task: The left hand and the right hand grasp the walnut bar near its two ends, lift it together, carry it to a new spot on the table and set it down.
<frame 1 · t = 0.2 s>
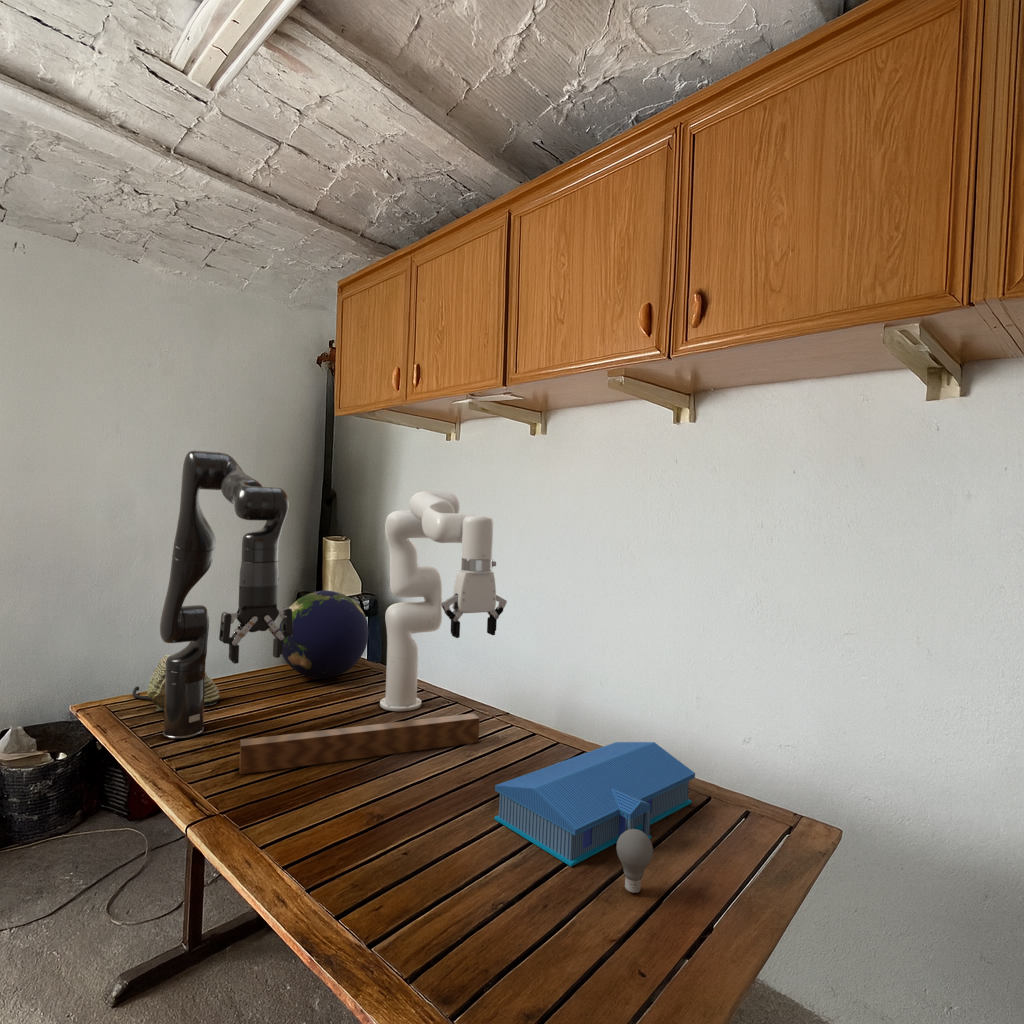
left hand: (255, 659, 132), 29 cm above the table, tool pointing down, fingers open, 8 cm apart
right hand: (473, 635, 155), 31 cm above the table, tool pointing down, fingers open, 9 cm apart
fossil: (183, 706, 185), on the table
model building: (602, 814, 132), on the table
globe: (322, 677, 219), on the table
bar: (367, 754, 157), on the table
light bulb: (632, 891, 106), on the table
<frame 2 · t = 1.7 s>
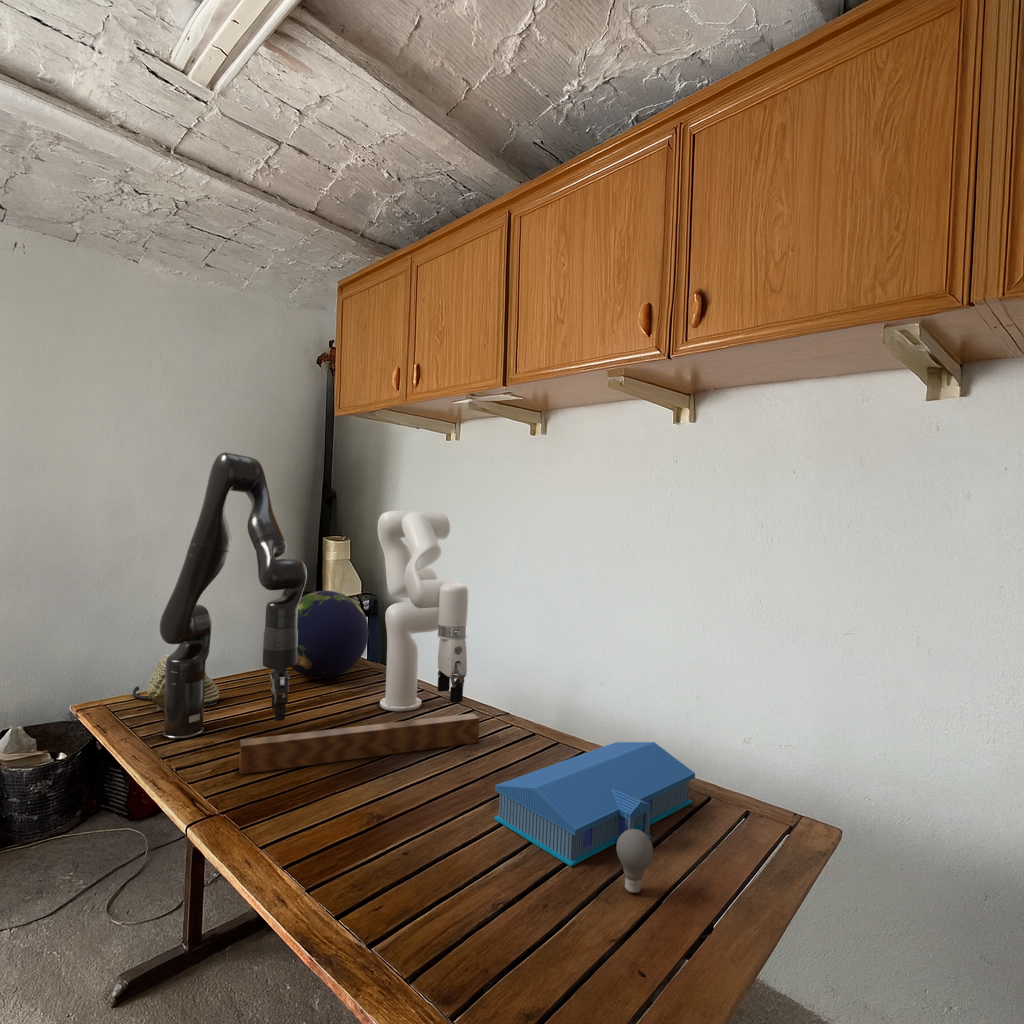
left hand: (278, 714, 147), 12 cm above the table, tool pointing down, fingers open, 8 cm apart
right hand: (449, 696, 166), 12 cm above the table, tool pointing down, fingers open, 9 cm apart
nothing on the table moved.
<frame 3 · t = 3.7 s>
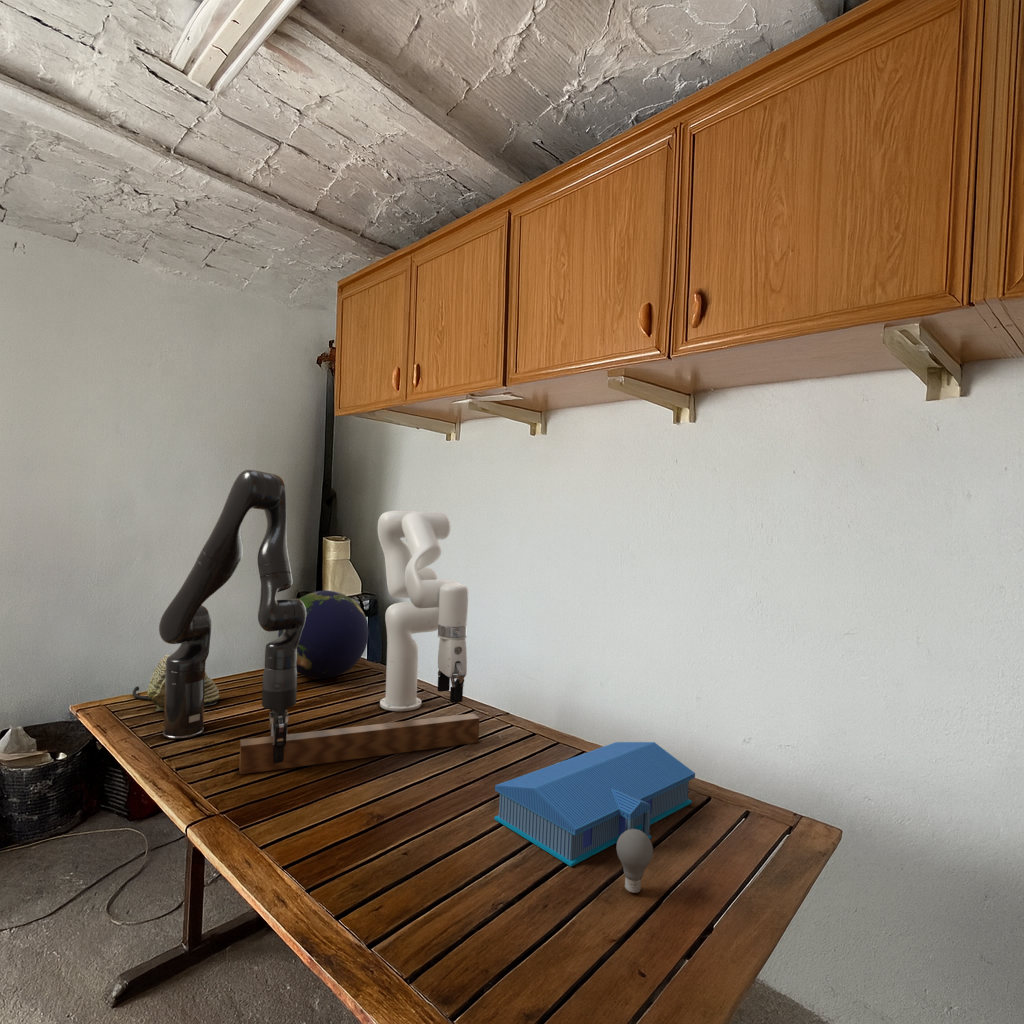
left hand: (277, 757, 148), 2 cm above the table, tool pointing down, fingers closed on bar, 4 cm apart
right hand: (449, 696, 166), 12 cm above the table, tool pointing down, fingers open, 9 cm apart
bar: (367, 754, 157), on the table, touching left hand
everything else where it was.
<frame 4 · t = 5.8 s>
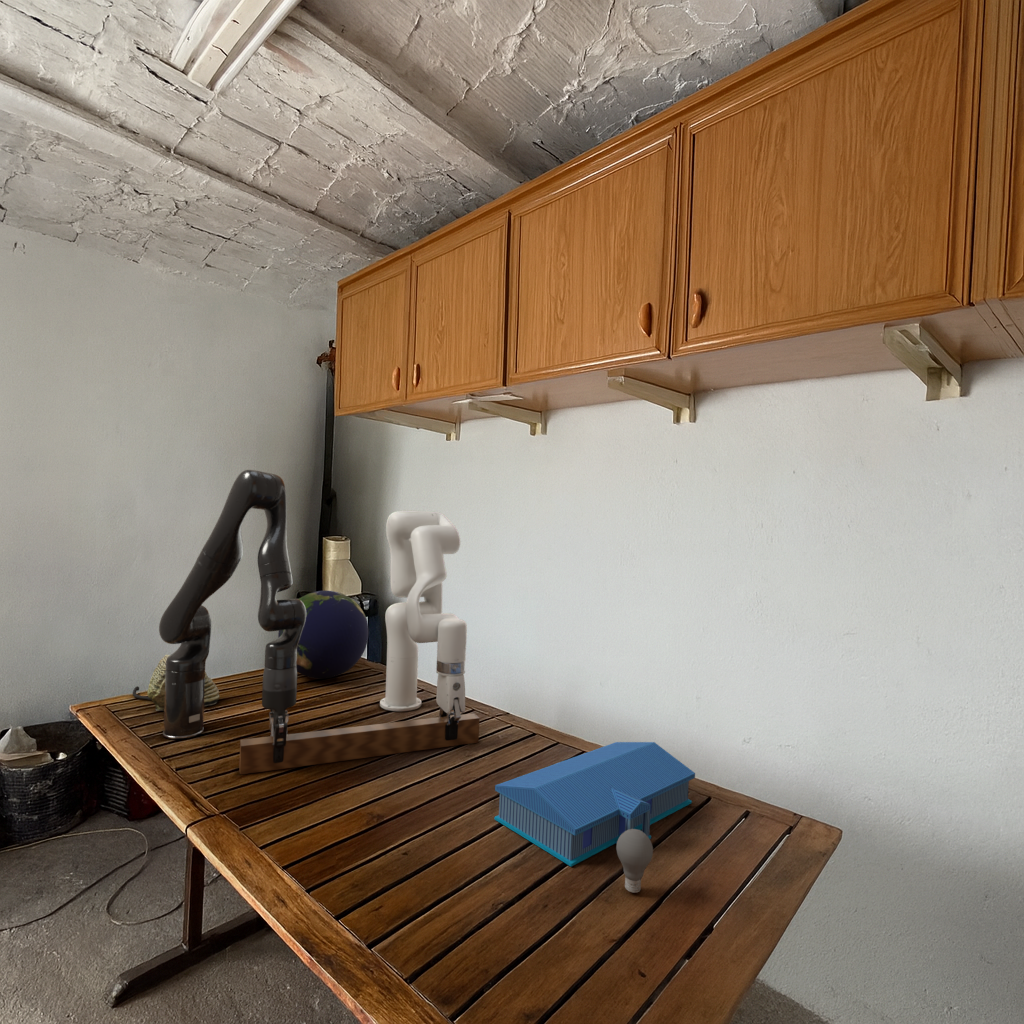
left hand: (277, 757, 148), 2 cm above the table, tool pointing down, fingers closed on bar, 4 cm apart
right hand: (448, 735, 166), 2 cm above the table, tool pointing down, fingers closed on bar, 4 cm apart
bar: (367, 754, 157), on the table, touching left hand, right hand
everything else where it was.
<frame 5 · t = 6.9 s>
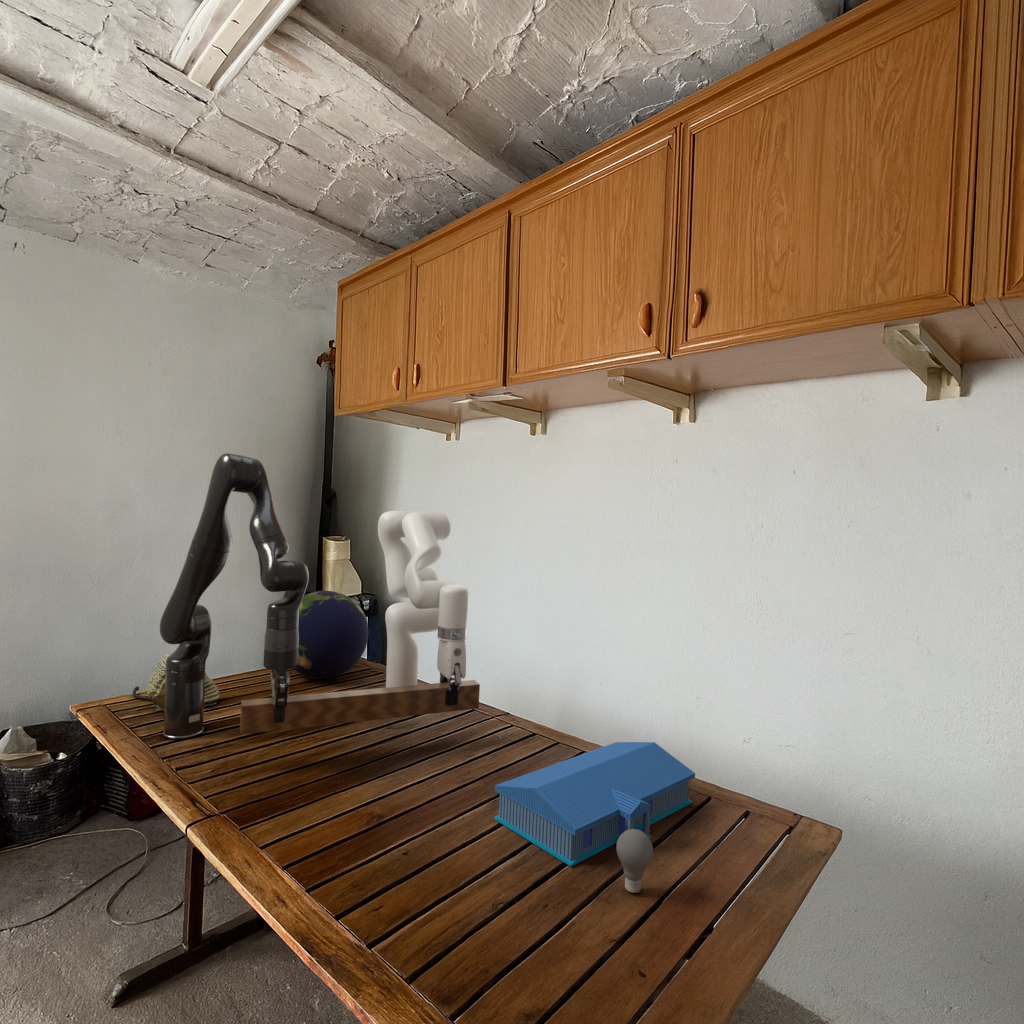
left hand: (278, 718, 148), 11 cm above the table, tool pointing down, fingers closed on bar, 4 cm apart
right hand: (448, 700, 166), 11 cm above the table, tool pointing down, fingers closed on bar, 4 cm apart
bar: (367, 717, 157), point 9 cm above the table, touching left hand, right hand
everything else where it was.
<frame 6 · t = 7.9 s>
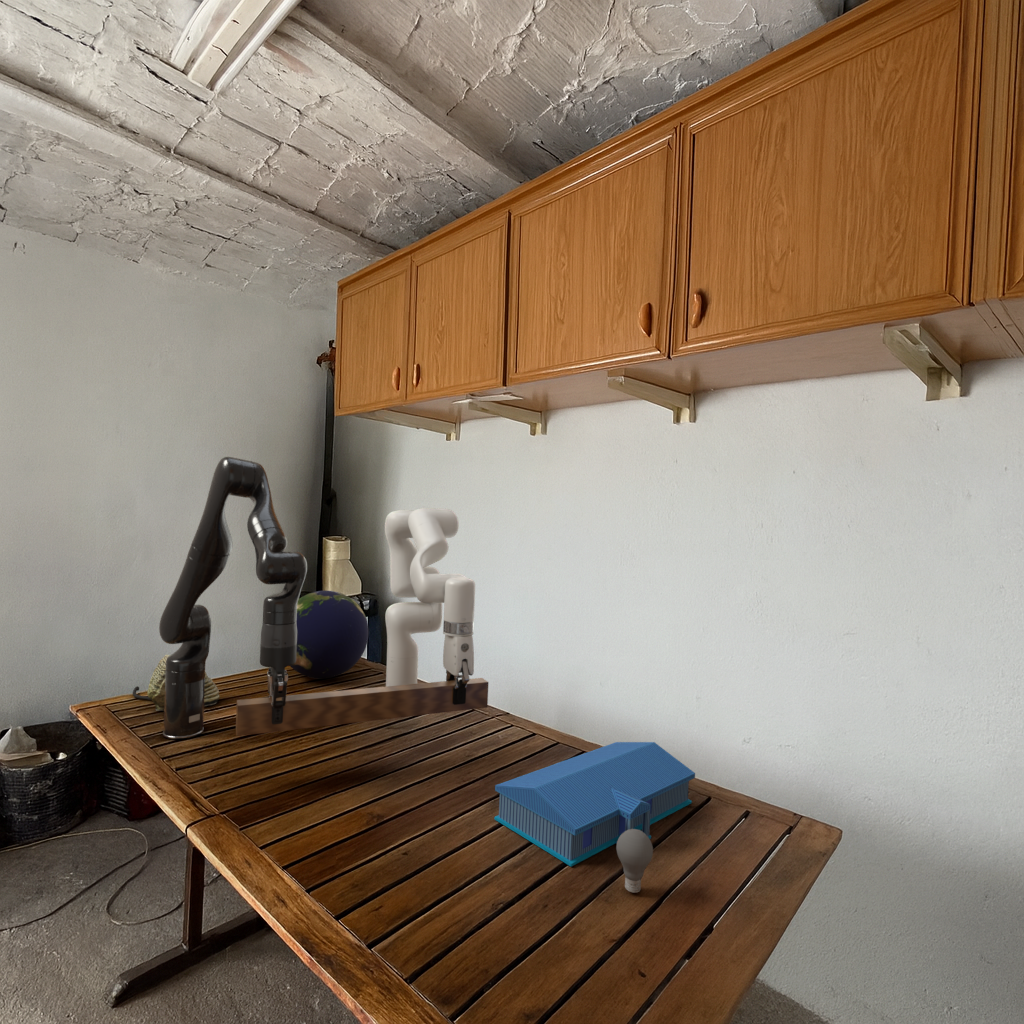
left hand: (275, 719, 139), 14 cm above the table, tool pointing down, fingers closed on bar, 4 cm apart
right hand: (455, 700, 158), 14 cm above the table, tool pointing down, fingers closed on bar, 4 cm apart
bar: (370, 717, 149), point 12 cm above the table, touching left hand, right hand
everything else where it was.
when the right hand's fingers open (4 cm above the table, at t = 10.1 s): bar drops 1 cm, on the table.
when the left hand's fingers open (3 cm above the table, at t = 10.2 s): bar drops 1 cm, on the table.
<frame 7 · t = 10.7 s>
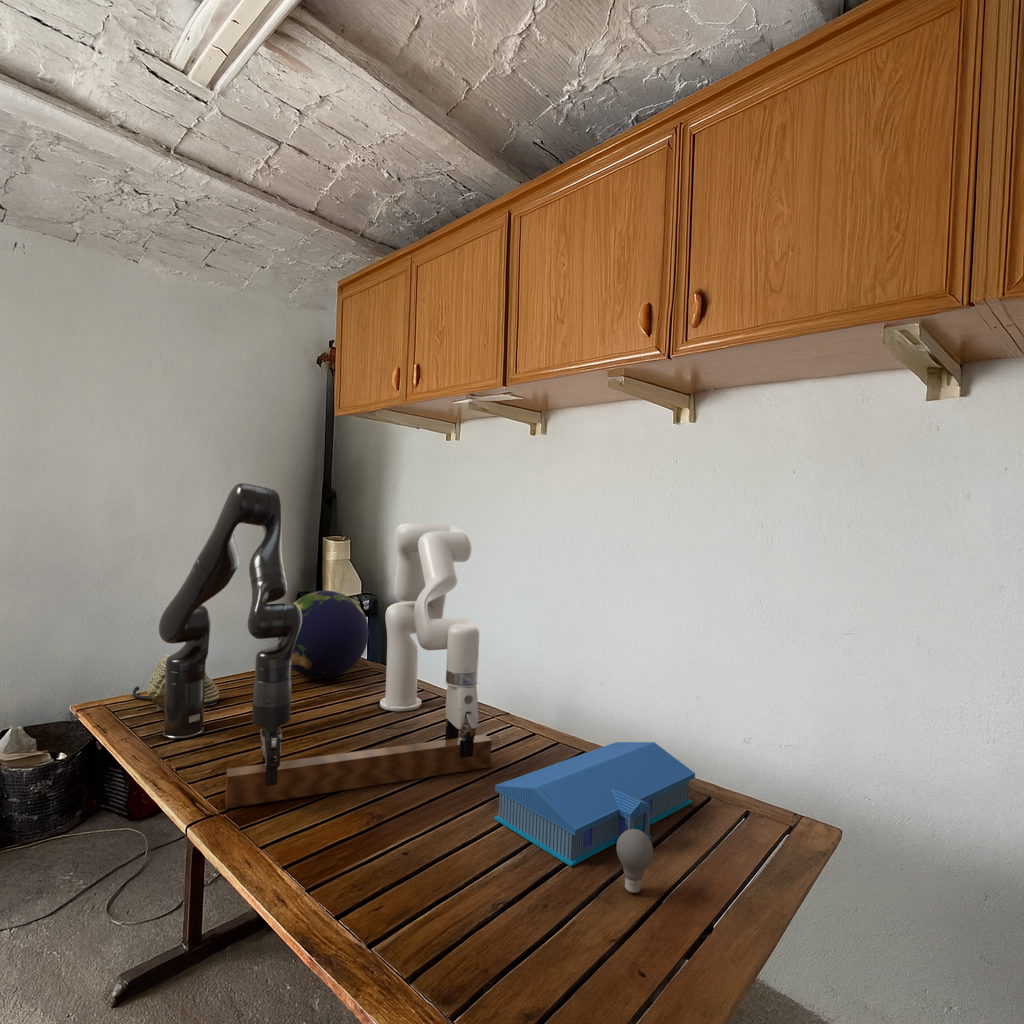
left hand: (269, 776, 132), 5 cm above the table, tool pointing down, fingers open, 8 cm apart
right hand: (458, 748, 150), 5 cm above the table, tool pointing down, fingers open, 9 cm apart
bar: (368, 782, 141), on the table
everything else where it was.
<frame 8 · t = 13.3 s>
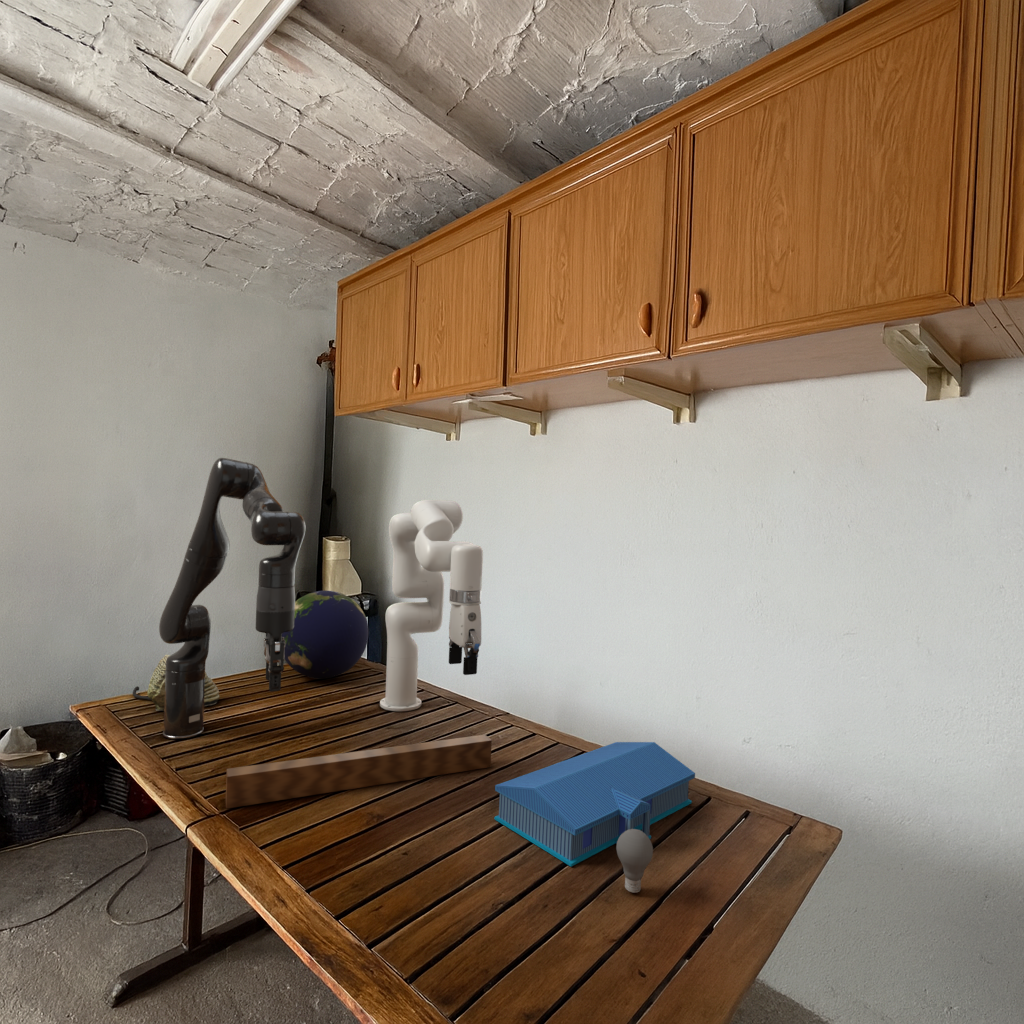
left hand: (272, 684, 132), 24 cm above the table, tool pointing down, fingers open, 8 cm apart
right hand: (462, 668, 150), 24 cm above the table, tool pointing down, fingers open, 9 cm apart
nothing on the table moved.
at the end: bar inside the target area (0.3 cm from its centre), on the table; bar tilted 0°; bar never tilted more than 2° during the clip; both hands held the bar at the same time; the left hand is holding nothing; the right hand is holding nothing; bar at rest at the end (0.0 cm/s) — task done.
